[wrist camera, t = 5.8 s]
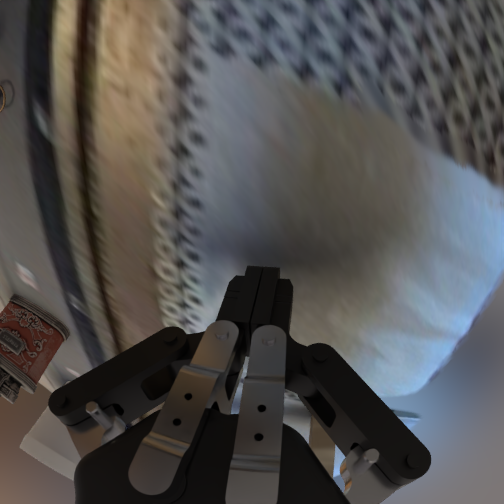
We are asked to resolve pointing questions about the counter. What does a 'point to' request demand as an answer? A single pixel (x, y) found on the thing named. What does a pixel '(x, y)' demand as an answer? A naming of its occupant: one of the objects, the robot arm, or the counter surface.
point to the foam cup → (52, 444)
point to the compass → (3, 98)
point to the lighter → (26, 345)
